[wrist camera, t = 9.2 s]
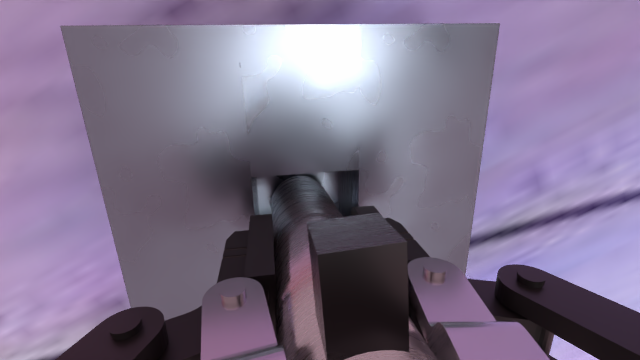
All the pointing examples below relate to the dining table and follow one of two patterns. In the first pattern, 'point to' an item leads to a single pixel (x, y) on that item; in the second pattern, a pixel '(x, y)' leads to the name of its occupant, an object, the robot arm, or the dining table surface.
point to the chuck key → (339, 281)
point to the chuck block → (277, 134)
